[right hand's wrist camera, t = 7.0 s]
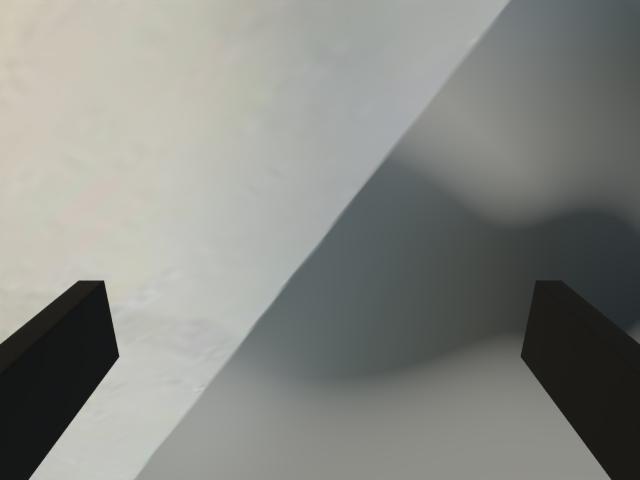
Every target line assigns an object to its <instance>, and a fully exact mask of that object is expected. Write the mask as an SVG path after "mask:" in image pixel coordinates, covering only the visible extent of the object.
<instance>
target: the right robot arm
mask: <svg viewBox="0 0 640 480" xmlns="http://www.w3.org/2000/svg"><path fill="white" fill-rule="evenodd" d="M118 358H119V352H118V348H117V343H116V338H115V333H114V328H113V323H112V318H111V313H110V308H109V303H108V298H107V293H106V288H105V283H104V281H78V282H76V283H75V284H74V285H73V286H72V287H70V288H69V289H68V290H67V291H65V292H64V293H63V294H62V295H60V296H59V297H58V298H57V299H56V300H54V301H53V302H52V303H51V304H49V305H48V306H47V307H46V308H44V309H43V310H42V311H41V312H39V313H38V314H37V315H36V316H35V317H33V318H32V319H31V320H30V321H28V322H27V323H26V324H25V325H23V326H22V327H21V328H20V329H19V330H17V331H16V332H15V333H14V334H12V335H11V336H10V337H9V338H7V339H6V340H5V341H4V342H3V343H1V344H0V480H29V478H30V477H31V476H32V474H33V473H34V472H35V470H36V469H37V468H38V466H39V465H40V464H41V462H42V461H43V459H44V458H45V457H46V455H47V454H48V453H49V451H50V450H51V449H52V447H53V446H54V445H55V443H56V442H57V440H58V439H59V438H60V436H61V435H62V434H63V432H64V431H65V430H66V428H67V427H68V426H69V424H70V423H71V422H72V420H73V419H74V417H75V416H76V415H77V413H78V412H79V411H80V409H81V408H82V407H83V405H84V404H85V403H86V401H87V400H88V398H89V397H90V396H91V394H92V393H93V392H94V390H95V389H96V388H97V386H98V385H99V384H100V382H101V381H102V379H103V378H104V377H105V375H106V374H107V373H108V371H109V370H110V369H111V367H112V366H113V365H114V363H115V362H116V361H117V359H118ZM521 358H522V359H523V361H524V362H525V363H526V364H527V366H528V367H529V369H530V370H531V371H532V373H533V374H534V375H535V377H536V378H537V379H538V381H539V382H540V384H541V385H542V386H543V388H544V389H545V390H546V392H547V393H548V394H549V396H550V397H551V398H552V400H553V401H554V403H555V404H556V405H557V406H558V408H559V409H560V411H561V412H562V413H563V415H564V416H565V417H566V419H567V420H568V422H569V423H570V424H571V426H572V427H573V428H574V430H575V431H576V432H577V434H578V435H579V436H580V438H581V439H582V440H583V442H584V443H585V444H586V446H587V447H588V449H589V450H590V451H591V453H592V454H593V455H594V457H595V458H596V459H597V461H598V462H599V464H600V465H601V466H602V468H603V469H604V470H605V472H606V473H607V474H608V476H609V477H610V478H611V480H640V344H639V343H637V342H636V341H635V340H634V339H633V338H631V337H630V336H629V335H628V334H626V333H625V332H624V331H623V330H621V329H620V328H619V327H618V326H617V325H615V324H614V323H613V322H612V321H610V320H609V319H608V318H607V317H605V316H604V315H603V314H602V313H601V312H599V311H598V310H597V309H596V308H594V307H593V306H592V305H591V304H589V303H588V302H587V301H586V300H584V299H583V298H582V297H581V296H580V295H578V294H577V293H576V292H575V291H573V290H572V289H571V288H570V287H568V286H567V285H566V284H565V283H564V282H562V281H536V283H535V288H534V293H533V298H532V303H531V308H530V313H529V318H528V323H527V328H526V333H525V338H524V343H523V348H522V352H521Z"/></svg>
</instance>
